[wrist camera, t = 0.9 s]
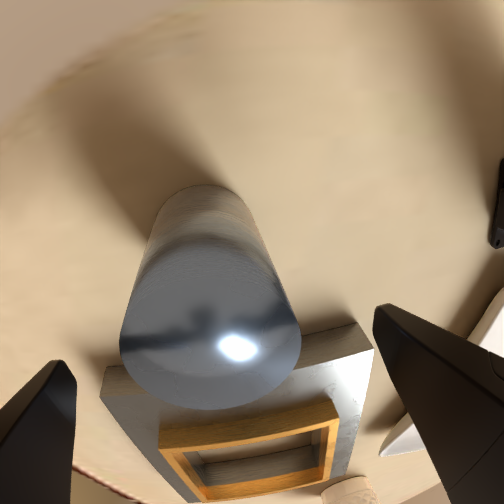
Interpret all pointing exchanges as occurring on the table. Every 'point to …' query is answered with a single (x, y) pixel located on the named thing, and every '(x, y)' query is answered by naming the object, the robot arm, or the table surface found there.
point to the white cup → (350, 492)
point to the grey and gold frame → (255, 423)
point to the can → (208, 307)
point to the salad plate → (484, 335)
